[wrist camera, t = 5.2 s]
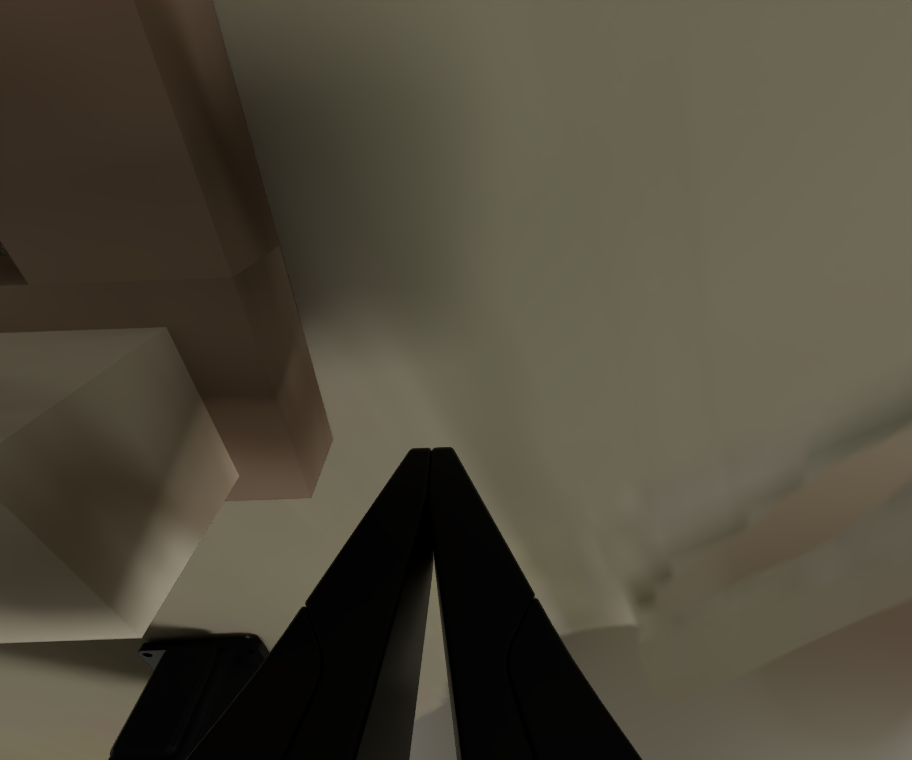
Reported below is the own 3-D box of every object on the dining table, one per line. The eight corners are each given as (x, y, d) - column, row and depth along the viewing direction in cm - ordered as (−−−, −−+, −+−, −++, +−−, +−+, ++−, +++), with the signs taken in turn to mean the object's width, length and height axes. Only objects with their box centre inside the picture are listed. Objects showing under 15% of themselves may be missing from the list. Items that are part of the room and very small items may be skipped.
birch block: (238, 476, 10) (141, 638, 7) (75, 482, 10) (-99, 646, 7) (166, 326, 8) (-36, 467, 5) (-47, 334, 8) (-403, 480, 5)
